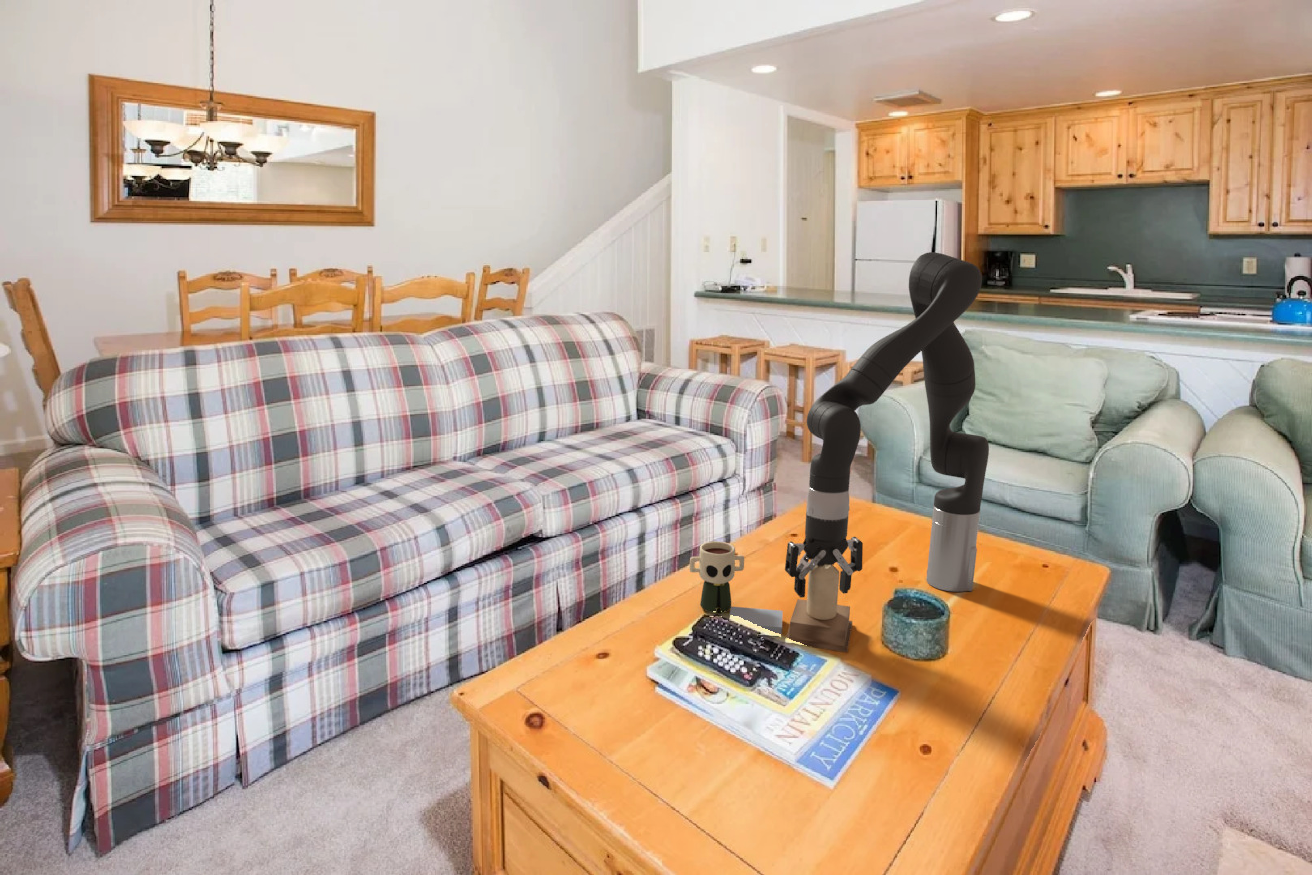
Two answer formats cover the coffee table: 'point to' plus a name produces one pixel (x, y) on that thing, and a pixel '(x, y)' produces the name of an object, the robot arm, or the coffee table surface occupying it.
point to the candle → (823, 592)
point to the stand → (820, 628)
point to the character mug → (716, 574)
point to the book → (760, 617)
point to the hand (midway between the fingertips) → (822, 593)
